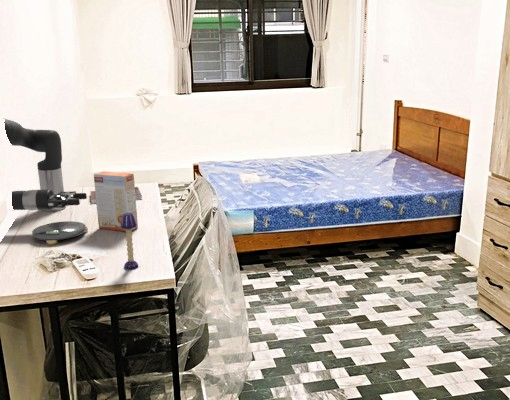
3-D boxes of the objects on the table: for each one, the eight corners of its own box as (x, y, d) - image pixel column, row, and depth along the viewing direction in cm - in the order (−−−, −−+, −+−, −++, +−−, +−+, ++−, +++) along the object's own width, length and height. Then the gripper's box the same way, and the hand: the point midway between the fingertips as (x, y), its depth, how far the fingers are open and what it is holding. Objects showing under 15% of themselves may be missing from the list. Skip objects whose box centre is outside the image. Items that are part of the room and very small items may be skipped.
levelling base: (44, 229, 204) (42, 218, 203) (92, 227, 204) (91, 217, 203) (24, 246, 185) (22, 234, 184) (77, 244, 186) (75, 233, 185)
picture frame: (138, 191, 259) (90, 196, 253) (137, 186, 258) (90, 190, 252) (142, 200, 244) (91, 204, 238) (141, 194, 243) (91, 199, 237)
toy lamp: (125, 264, 167) (120, 211, 163) (140, 263, 168) (136, 211, 163) (123, 270, 163) (118, 216, 159) (138, 269, 163) (134, 215, 159)
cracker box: (138, 228, 203) (134, 172, 197) (128, 232, 197) (124, 176, 192) (108, 223, 208) (103, 170, 203) (98, 228, 203) (92, 173, 198)
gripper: (29, 194, 192) (75, 193, 192) (44, 185, 206) (87, 184, 206) (32, 215, 194) (78, 214, 194) (46, 204, 208) (89, 203, 208)
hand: (82, 198), depth 200 cm, fingers open, 8 cm apart
